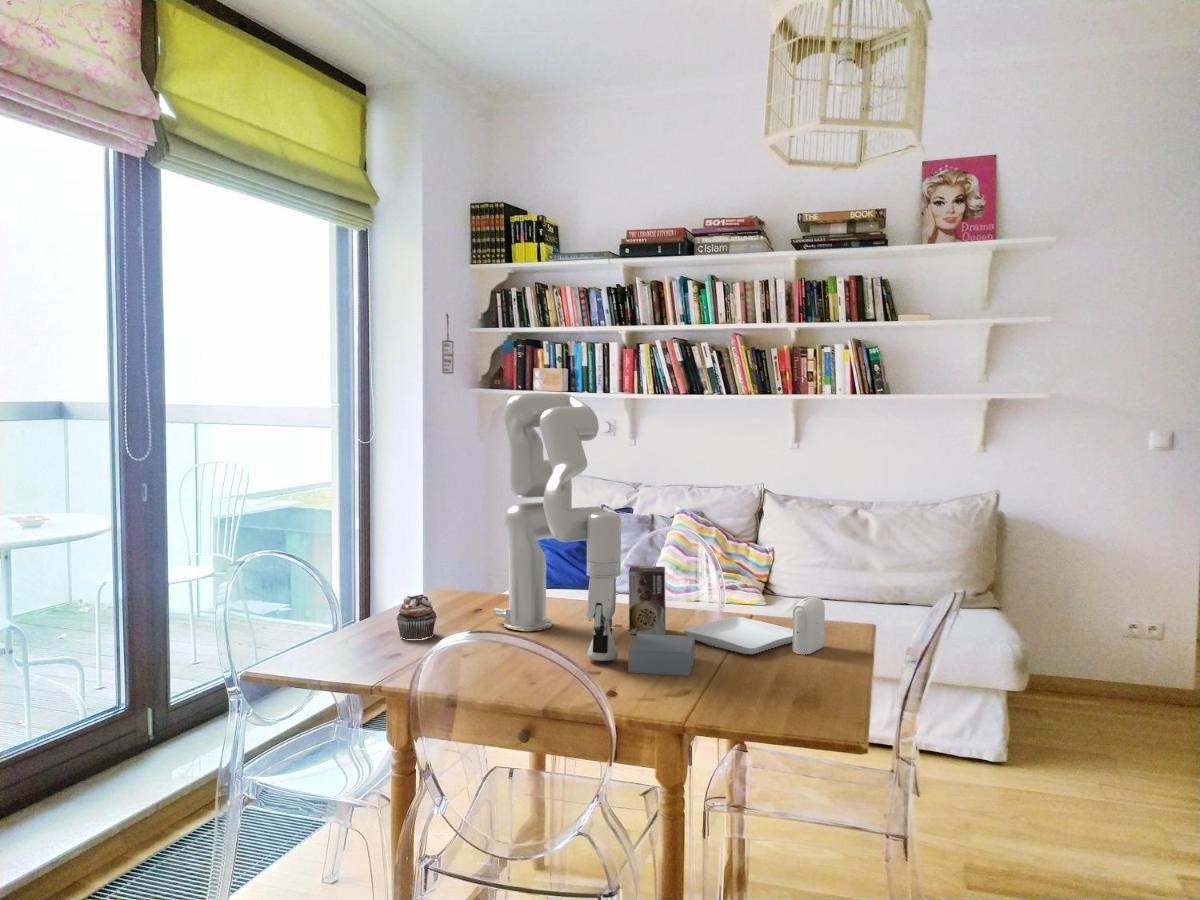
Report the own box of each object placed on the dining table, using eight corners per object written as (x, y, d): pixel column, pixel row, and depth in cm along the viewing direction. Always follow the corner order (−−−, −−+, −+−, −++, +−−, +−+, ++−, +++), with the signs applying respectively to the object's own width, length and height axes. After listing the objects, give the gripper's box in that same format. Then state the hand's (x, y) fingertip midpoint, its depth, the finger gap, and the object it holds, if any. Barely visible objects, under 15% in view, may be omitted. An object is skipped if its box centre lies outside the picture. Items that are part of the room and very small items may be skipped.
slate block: (628, 672, 189) (628, 649, 189) (637, 655, 202) (637, 633, 202) (689, 676, 187) (689, 652, 186) (694, 658, 200) (694, 636, 199)
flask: (585, 652, 201) (585, 608, 200) (616, 651, 201) (617, 608, 200) (587, 662, 193) (587, 617, 193) (620, 661, 194) (621, 616, 193)
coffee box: (665, 629, 225) (666, 566, 224) (665, 635, 218) (665, 571, 218) (629, 628, 226) (630, 565, 225) (628, 634, 219) (628, 570, 218)
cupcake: (389, 636, 218) (389, 595, 218) (424, 629, 224) (424, 590, 224) (408, 644, 211) (408, 602, 210) (444, 637, 217) (443, 596, 217)
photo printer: (807, 657, 201) (807, 603, 200) (789, 653, 203) (790, 600, 203) (826, 647, 209) (827, 595, 208) (809, 644, 211) (810, 592, 211)
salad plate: (806, 644, 212) (806, 630, 212) (752, 662, 198) (752, 647, 198) (736, 627, 228) (736, 614, 228) (680, 643, 213) (681, 629, 213)
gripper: (594, 559, 205) (593, 637, 206) (578, 575, 188) (578, 659, 190) (626, 561, 203) (625, 639, 205) (613, 577, 187) (612, 661, 188)
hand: (602, 648), depth 197 cm, fingers closed on flask, 4 cm apart
